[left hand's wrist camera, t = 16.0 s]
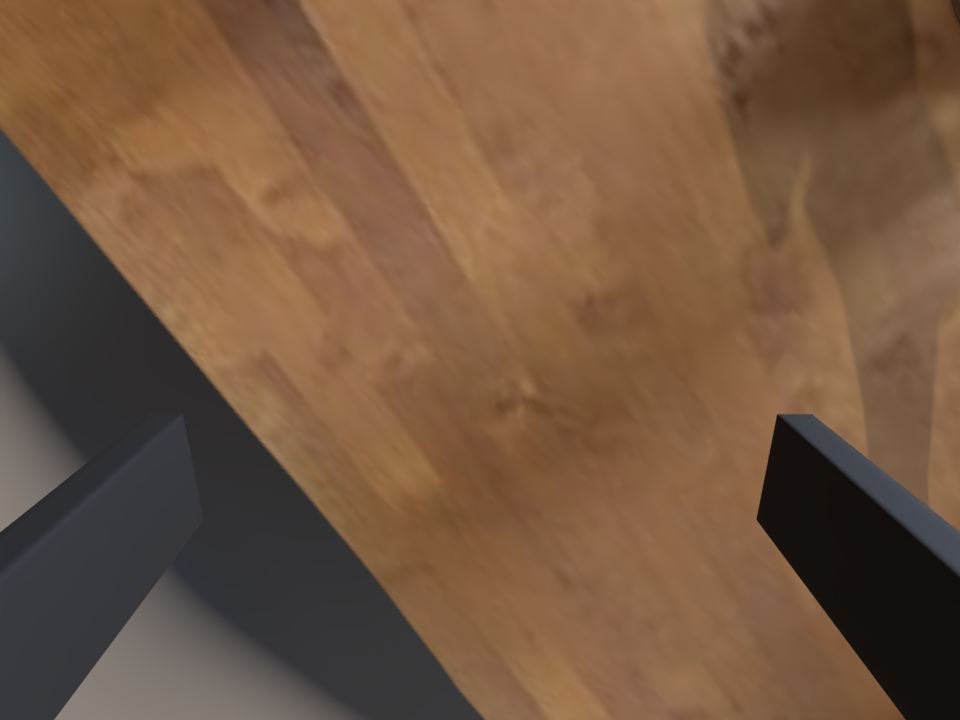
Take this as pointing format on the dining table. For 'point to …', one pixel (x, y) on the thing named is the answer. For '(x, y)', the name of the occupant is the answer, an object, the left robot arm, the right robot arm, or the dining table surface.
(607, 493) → the dining table surface
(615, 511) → the dining table surface
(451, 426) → the dining table surface
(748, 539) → the dining table surface
